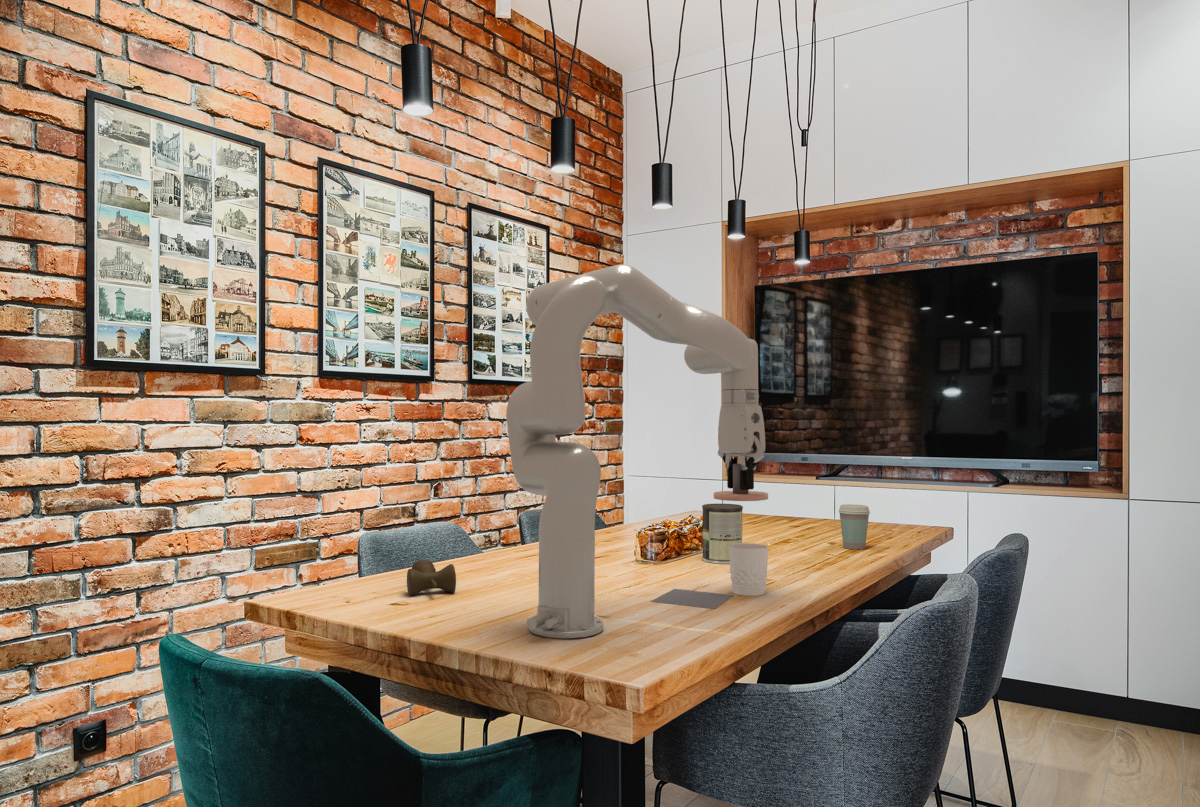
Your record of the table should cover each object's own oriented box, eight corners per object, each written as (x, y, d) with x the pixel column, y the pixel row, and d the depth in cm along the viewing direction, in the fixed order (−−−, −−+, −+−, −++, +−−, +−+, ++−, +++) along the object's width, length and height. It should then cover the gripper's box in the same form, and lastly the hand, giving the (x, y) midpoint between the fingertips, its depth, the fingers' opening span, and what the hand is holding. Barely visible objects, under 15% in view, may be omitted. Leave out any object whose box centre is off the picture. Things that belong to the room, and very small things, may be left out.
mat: (714, 612, 145) (714, 608, 145) (650, 604, 150) (650, 601, 150) (735, 598, 156) (735, 595, 156) (674, 591, 162) (674, 588, 162)
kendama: (444, 582, 174) (460, 598, 155) (400, 586, 170) (411, 603, 152) (444, 555, 174) (459, 568, 155) (400, 558, 171) (410, 572, 152)
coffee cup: (876, 549, 219) (876, 506, 219) (855, 551, 215) (855, 507, 215) (853, 545, 226) (852, 503, 227) (832, 547, 222) (831, 505, 222)
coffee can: (693, 560, 200) (693, 505, 200) (720, 555, 207) (720, 502, 207) (724, 565, 192) (724, 508, 193) (751, 561, 199) (751, 505, 199)
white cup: (765, 591, 163) (765, 543, 163) (770, 599, 155) (770, 549, 156) (727, 590, 164) (728, 542, 164) (730, 598, 156) (730, 548, 156)
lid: (760, 502, 152) (759, 466, 152) (706, 499, 157) (706, 464, 157) (773, 496, 162) (773, 463, 162) (722, 494, 167) (722, 461, 167)
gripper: (781, 398, 154) (782, 491, 154) (728, 400, 169) (729, 485, 168) (752, 398, 151) (753, 493, 150) (700, 399, 165) (701, 486, 165)
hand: (740, 487), depth 159 cm, fingers closed on lid, 3 cm apart
